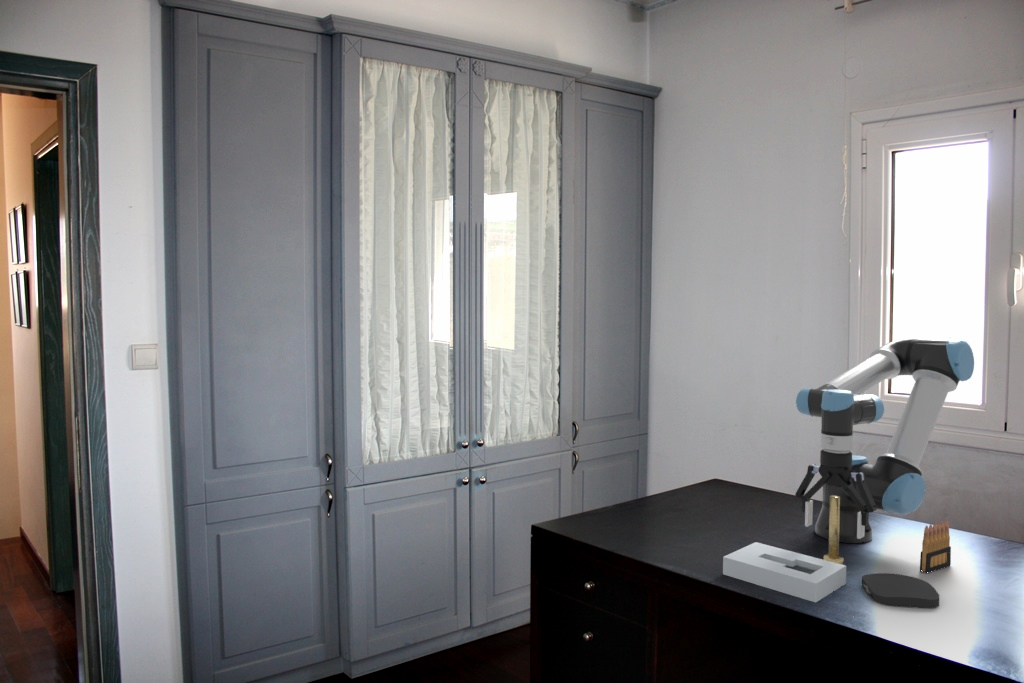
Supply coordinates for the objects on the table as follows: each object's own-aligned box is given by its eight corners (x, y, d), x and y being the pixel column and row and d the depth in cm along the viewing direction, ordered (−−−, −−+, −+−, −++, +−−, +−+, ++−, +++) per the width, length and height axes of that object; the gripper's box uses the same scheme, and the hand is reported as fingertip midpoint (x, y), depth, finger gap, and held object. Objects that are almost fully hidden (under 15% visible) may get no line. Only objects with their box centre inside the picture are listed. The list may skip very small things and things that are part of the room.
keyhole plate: (845, 583, 186) (846, 565, 185) (815, 602, 175) (816, 583, 174) (755, 558, 203) (755, 542, 203) (722, 574, 192) (723, 556, 192)
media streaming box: (944, 611, 171) (945, 598, 171) (874, 606, 173) (875, 593, 173) (921, 586, 185) (922, 573, 185) (857, 582, 188) (857, 570, 187)
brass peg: (839, 561, 201) (840, 494, 199) (846, 568, 196) (848, 499, 195) (820, 561, 201) (822, 494, 200) (827, 568, 196) (829, 499, 195)
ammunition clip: (926, 573, 192) (928, 527, 191) (919, 571, 194) (920, 525, 193) (950, 565, 197) (952, 520, 197) (943, 563, 199) (945, 518, 198)
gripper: (783, 445, 203) (781, 523, 204) (880, 460, 185) (877, 546, 186) (796, 441, 208) (794, 517, 209) (892, 455, 190) (889, 539, 191)
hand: (833, 531), depth 198 cm, fingers open, 13 cm apart
